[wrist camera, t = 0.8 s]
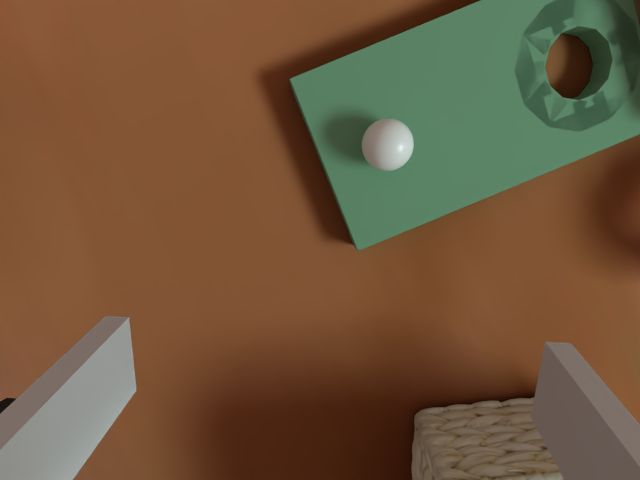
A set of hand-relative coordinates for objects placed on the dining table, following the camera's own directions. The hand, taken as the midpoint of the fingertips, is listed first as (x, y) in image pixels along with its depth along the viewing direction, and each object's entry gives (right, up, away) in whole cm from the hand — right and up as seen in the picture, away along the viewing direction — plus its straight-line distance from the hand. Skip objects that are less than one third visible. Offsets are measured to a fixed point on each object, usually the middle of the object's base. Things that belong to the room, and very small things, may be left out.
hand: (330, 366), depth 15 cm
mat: (+11, +14, +18) cm, 25 cm away
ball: (+4, +10, +14) cm, 18 cm away
